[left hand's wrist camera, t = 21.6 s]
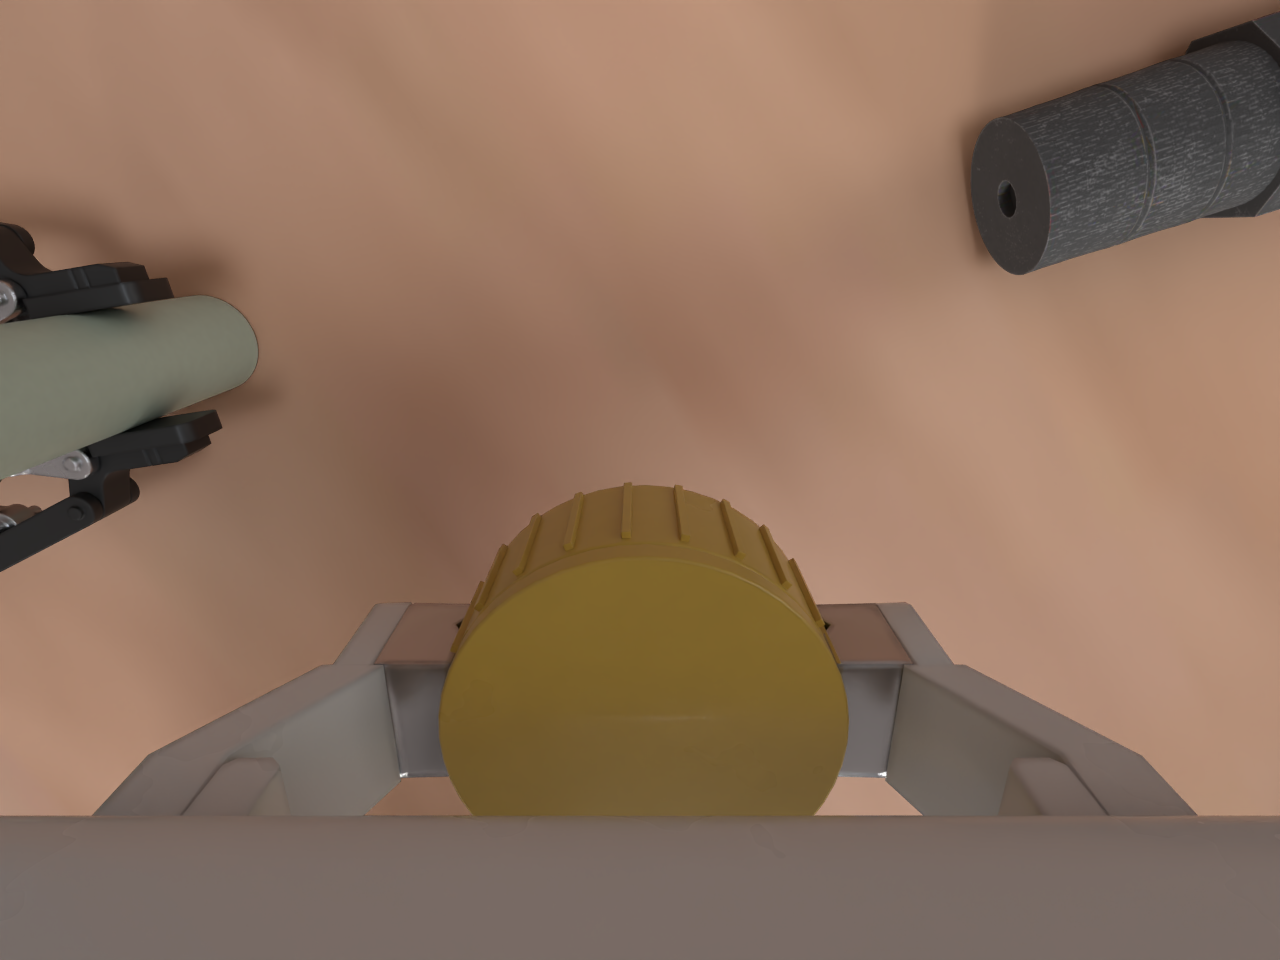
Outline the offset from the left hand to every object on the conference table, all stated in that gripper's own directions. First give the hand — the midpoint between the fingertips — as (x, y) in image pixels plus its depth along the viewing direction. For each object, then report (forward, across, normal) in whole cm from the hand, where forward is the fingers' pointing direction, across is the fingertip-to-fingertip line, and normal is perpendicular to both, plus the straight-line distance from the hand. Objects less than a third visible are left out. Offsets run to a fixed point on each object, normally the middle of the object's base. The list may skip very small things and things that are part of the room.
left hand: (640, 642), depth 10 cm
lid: (-2, 0, 0) cm, 2 cm away
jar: (+22, +19, -1) cm, 29 cm away
